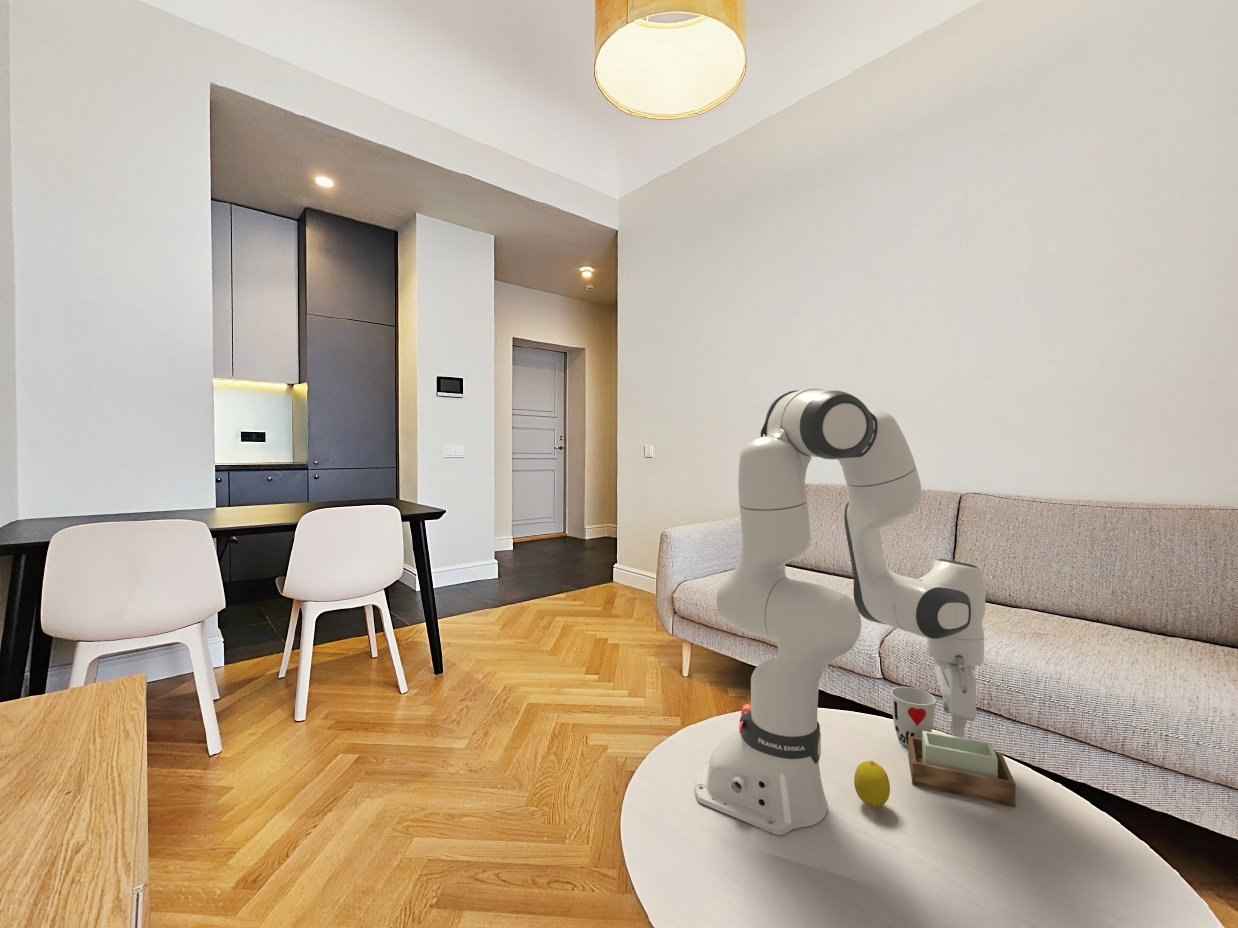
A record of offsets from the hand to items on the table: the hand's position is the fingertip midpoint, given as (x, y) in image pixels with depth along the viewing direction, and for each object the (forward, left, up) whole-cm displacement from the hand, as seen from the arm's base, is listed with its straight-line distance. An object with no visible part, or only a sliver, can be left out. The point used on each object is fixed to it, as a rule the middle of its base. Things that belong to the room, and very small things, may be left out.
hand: (953, 722), depth 98 cm
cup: (-6, +11, -11) cm, 16 cm away
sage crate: (+1, 0, -10) cm, 10 cm away
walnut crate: (+1, 0, -11) cm, 11 cm away
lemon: (-14, -14, -11) cm, 22 cm away
